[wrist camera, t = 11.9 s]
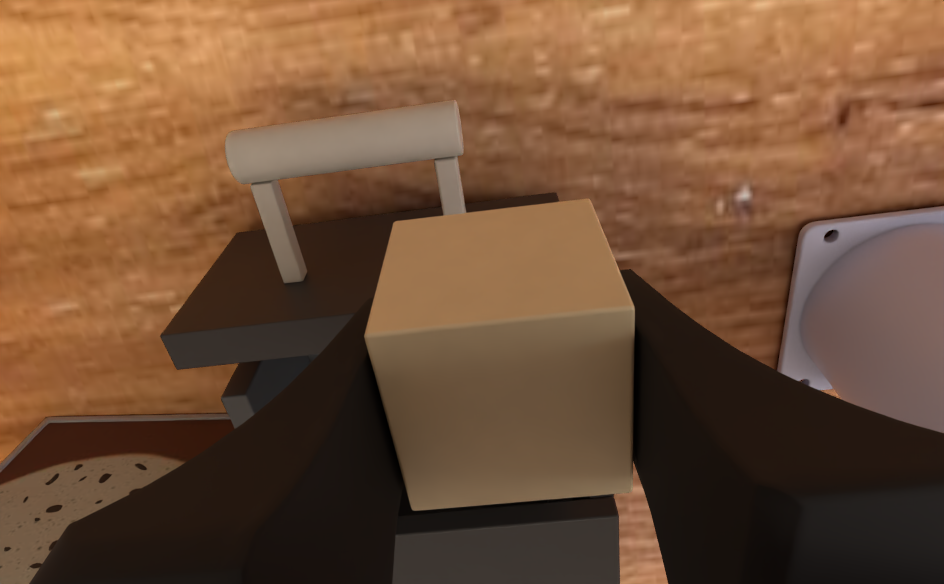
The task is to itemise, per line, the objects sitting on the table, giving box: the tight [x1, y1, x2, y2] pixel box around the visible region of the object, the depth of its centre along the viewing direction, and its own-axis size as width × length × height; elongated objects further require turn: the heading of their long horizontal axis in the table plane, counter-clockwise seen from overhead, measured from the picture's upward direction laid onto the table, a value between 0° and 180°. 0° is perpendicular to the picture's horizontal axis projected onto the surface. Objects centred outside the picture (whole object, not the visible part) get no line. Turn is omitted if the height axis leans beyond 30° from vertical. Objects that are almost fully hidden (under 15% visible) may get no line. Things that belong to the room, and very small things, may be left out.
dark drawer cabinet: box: [392, 494, 620, 584], centre depth 26 cm, size 14×13×8 cm
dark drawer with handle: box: [161, 100, 573, 516], centre depth 21 cm, size 17×11×6 cm
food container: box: [0, 414, 235, 584], centre depth 25 cm, size 12×6×10 cm, turn 91°
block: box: [364, 199, 635, 511], centre depth 12 cm, size 4×4×4 cm
